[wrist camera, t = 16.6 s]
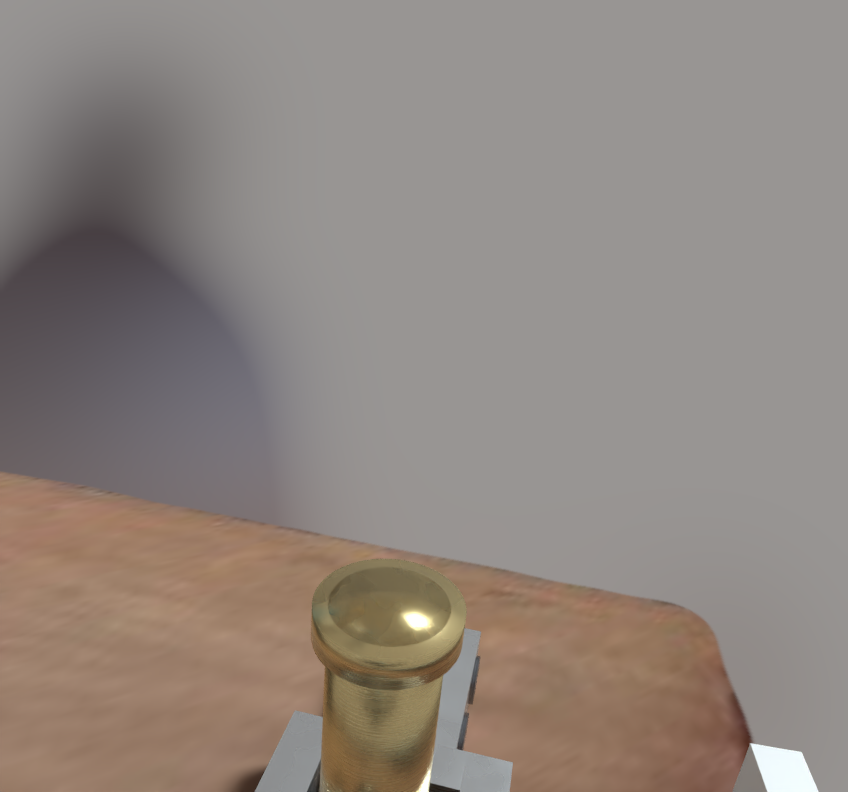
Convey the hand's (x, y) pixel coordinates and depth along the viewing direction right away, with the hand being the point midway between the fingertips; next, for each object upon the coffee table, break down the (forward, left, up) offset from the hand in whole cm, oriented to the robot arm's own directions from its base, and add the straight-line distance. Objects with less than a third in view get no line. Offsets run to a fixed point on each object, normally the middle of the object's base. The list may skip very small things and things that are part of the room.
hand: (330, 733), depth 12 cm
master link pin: (-9, +6, -19) cm, 22 cm away
